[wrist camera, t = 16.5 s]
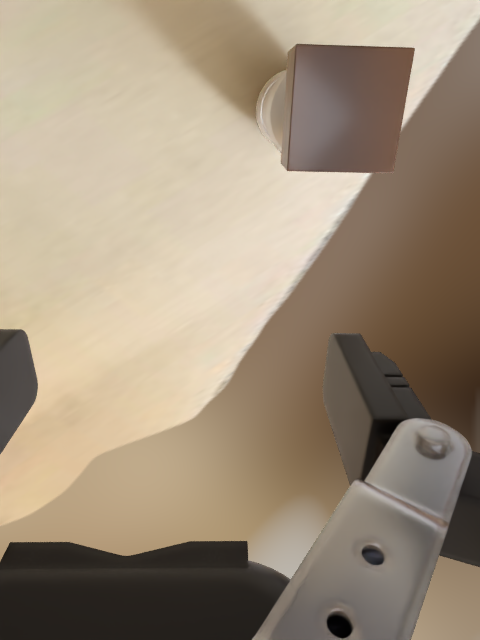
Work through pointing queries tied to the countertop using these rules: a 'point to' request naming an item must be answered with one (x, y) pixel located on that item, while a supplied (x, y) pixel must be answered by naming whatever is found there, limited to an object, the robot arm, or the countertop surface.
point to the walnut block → (344, 107)
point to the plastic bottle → (272, 109)
